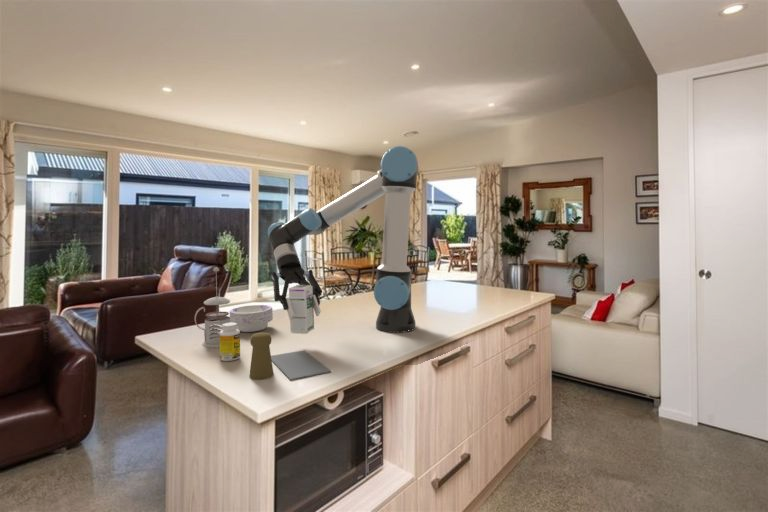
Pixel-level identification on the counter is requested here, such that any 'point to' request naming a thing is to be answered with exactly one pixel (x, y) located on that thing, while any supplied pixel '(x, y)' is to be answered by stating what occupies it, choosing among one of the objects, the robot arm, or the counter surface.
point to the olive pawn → (261, 356)
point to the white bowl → (251, 317)
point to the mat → (298, 365)
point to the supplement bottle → (229, 342)
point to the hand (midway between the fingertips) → (305, 315)
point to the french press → (211, 336)
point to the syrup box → (302, 309)
